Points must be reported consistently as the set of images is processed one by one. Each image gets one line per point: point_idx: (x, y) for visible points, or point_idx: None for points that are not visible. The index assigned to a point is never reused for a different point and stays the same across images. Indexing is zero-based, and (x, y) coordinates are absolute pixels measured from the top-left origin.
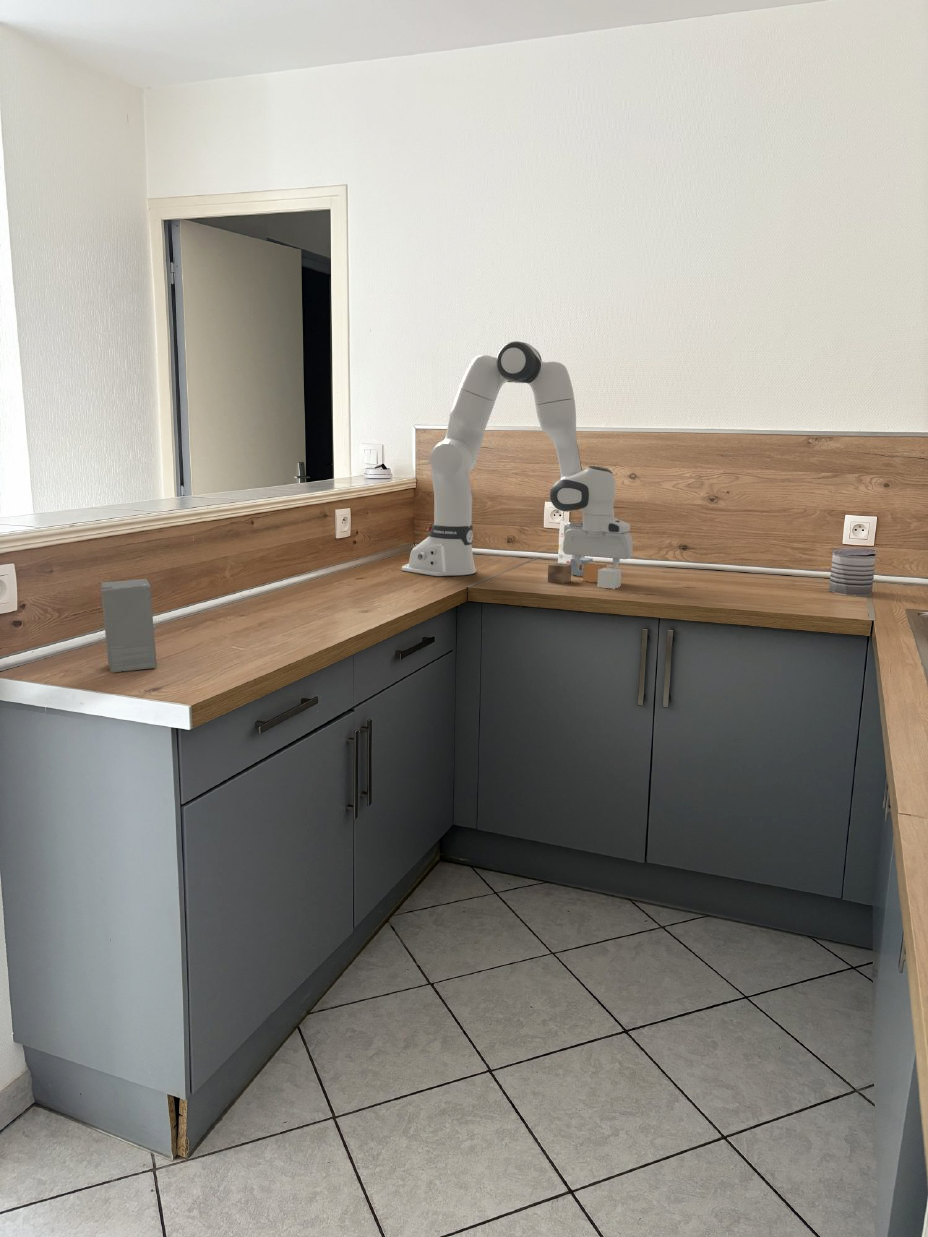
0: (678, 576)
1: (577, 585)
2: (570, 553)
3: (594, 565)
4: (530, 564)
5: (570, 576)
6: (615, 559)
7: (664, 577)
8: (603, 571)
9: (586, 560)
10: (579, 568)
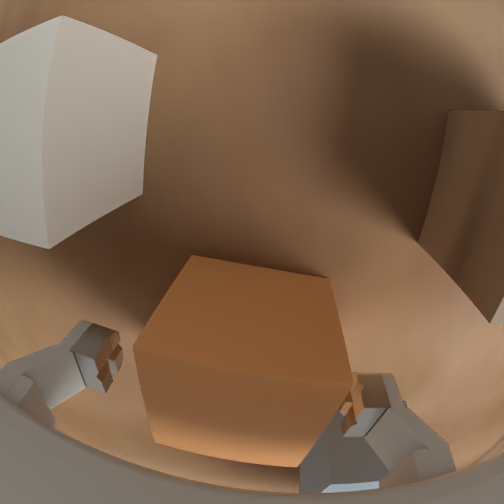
0: (59, 430)
1: (335, 63)
2: (496, 464)
3: (209, 363)
4: (479, 453)
5: (438, 248)
6: (4, 388)
7: (67, 422)
8: (24, 34)
9: (331, 486)
10: (382, 383)
